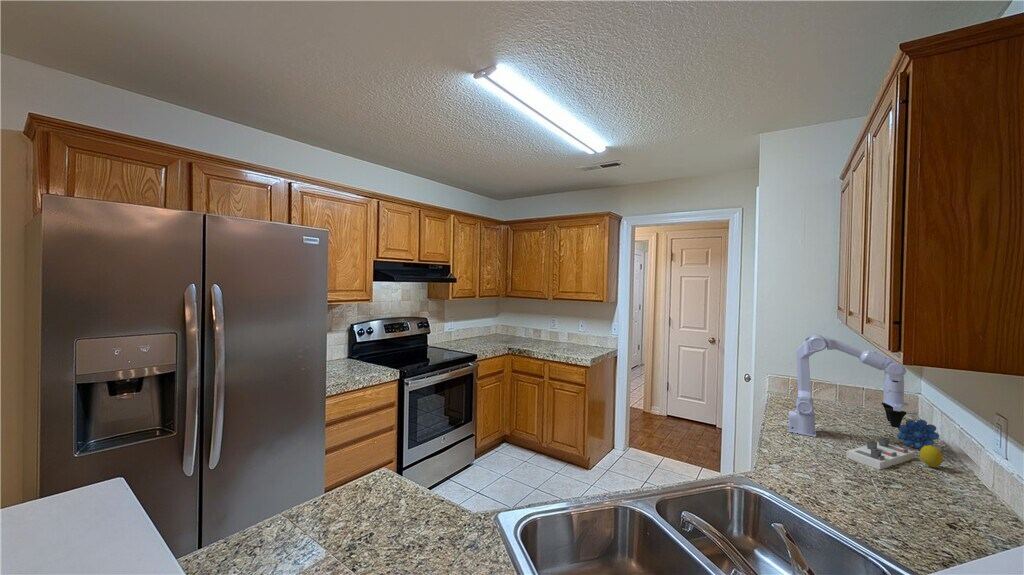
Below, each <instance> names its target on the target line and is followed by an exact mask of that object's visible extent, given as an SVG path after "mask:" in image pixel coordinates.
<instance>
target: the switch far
mask: <svg viewBox="0 0 1024 575" xmlns="http://www.w3.org/2000/svg"><path fill="white" fill-rule="evenodd" d="M889 441H890V439H888V438H887V437H885V436H884V437H883V436H882V437H879V438H878V442H879V444H880V445H883V446H888V445H889V444H890V442H889Z"/></svg>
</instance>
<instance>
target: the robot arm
mask: <svg viewBox="0 0 1024 575" xmlns="http://www.w3.org/2000/svg"><path fill="white" fill-rule="evenodd" d="M826 348H827V350H828V351H830V350H837V351H840V352H842V353H845V354H848V355H850V356H852V357H855V358H858V359H859V361H860V362H861V363H862V364H865V365H867V366H869V367H871V368H873V369H877V370H880V371H884V378H883V399H882V402H881V404H882V406H883V408H884V411H885V415H886V420H887V422H889V423H890V426H891V428H897V429H898V428H899V427H900V425H902V421H903V419H904V417H905V416H906V415H907V411H905V410H902V407H904V406H907V407H908V406H909V403H908V402H905V379H904V378H905V375H906V374H907V370H906V367H905V366H904V365H903V366H904V367H903V366H901V365H899V364H897V363H896V362H895V361H893V360H892V359H893V358H892V357H890V356H885V355H882V354H880V353H878V351H876V350H873V349H872V350H869V349H867V350H861V349H858V348H857V347H854V346H851V345H849V344H846V343H844V342H842V341H839V340H837V339H835V338H831V337H828V336H823V335H821V334H817V333H814V334H811V335H809V336H808V337H806V338H805V339H804V340H803V342H802V343H801V344H800V345H799V347H798V348H797V349H796V351H795V356H796V374H797V378H796V379H797V380H796V381H797V397H796V399H795V408H794V410H792V409H791V410H789V412H788V420H789V421H788V422H787V426H788V432H789V433H792V432H793V434H797V433H798V434H799V435H803V436H809V437H814V438H816V437H817V432H816V413H815V406H814V400H813V399H812V396H811V377H810V357H811V356H812V355H814V354H815V353H819V352H822V351H825V349H826ZM889 357H890V358H889ZM891 358H892V359H891Z"/></svg>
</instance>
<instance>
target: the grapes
mask: <svg viewBox="0 0 1024 575" xmlns="http://www.w3.org/2000/svg"><path fill="white" fill-rule="evenodd" d="M904 423H905V424H901V425H900V427H899V428H897V429H898V431H899V432H897V434H896V437H897V438H898V439H899V440H902V443H903V445H904V446H906V447H912V446H913V447H914V448H915V449H917V450H921V448H922V447H924V446H929V445H932V446H933V447H934V445H935V441H934V440H938V439H939V438H940V434H939V433H938V432H936V430H937V427H936V425H934V424H931V423H930V424H928V422H927V421H926V420H924V419H918V420H917V421H915V420H913V419H908V420H906V421H905V422H904Z"/></svg>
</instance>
